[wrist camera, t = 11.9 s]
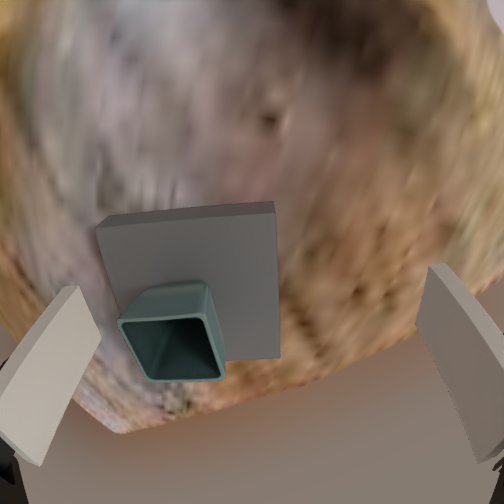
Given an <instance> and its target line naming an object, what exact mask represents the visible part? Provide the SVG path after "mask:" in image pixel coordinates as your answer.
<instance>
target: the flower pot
mask: <svg viewBox="0 0 504 504" xmlns="http://www.w3.org/2000/svg"><path fill="white" fill-rule="evenodd" d="M116 323H117V326H118V328H119V330H120V332H121V334H122V336H123V338H124V340H125V341H126V343H127V345H128V347H129V349H130V351H131V353H132V355H133V356H134V358H135V360H136V362H137V364H138V366H139V368H140V369H141V371H142V373H143V375H144V377H145V378H146V379H147V381H149V382H155V383H162V382H203V381H220V380H224V379H225V378H226V370H225V347H224V339H223V335H222V331H221V328H220V325H219V321H218V318H217V314H216V311H215V307H214V303H213V300H212V296H211V292H210V288H209V286H208V284H207V283H206V282H205V281H203V280H195V281H186V282H178V283H169V284H163V285H158V286H155V287H152V288H149V289H147V290H145V291H144V292H142V293H141V294H139V295H138V296H137V297H136V298H135V299H134V300H133V301H132V303H131V304H130V305H129V306H128V307H127V309H126V310H125V311H124V312H123V313H122V315H121V316H120V317H119V318H118V320H117V321H116Z"/></svg>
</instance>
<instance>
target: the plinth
mask: <svg viewBox="0 0 504 504" xmlns="http://www.w3.org/2000/svg"><path fill="white" fill-rule="evenodd" d="M94 229H95V233H96V237H97V241H98V244H99V248H100V252H101V255H102V259H103V262H104V265H105V269H106V272H107V275H108V278H109V282H110V285H111V288H112V291H113V294H114V297H115V300H116V303H117V306H118V308H119V311H120V314H121V315H122V313H123V312H124V311H125V310H126V309H127V307H128V306H129V305H130V304H131V303H132V301H133V300H134V299H135V298H136V297H137V296H138V295H139V294H141V293H142V292H144V291H145V290H147V289H149V288H152V287H155V286H158V285H163V284H169V283H178V282H186V281H195V280H203V281H205V282H206V283H207V284H208V286H209V288H210V292H211V296H212V300H213V303H214V307H215V311H216V314H217V318H218V321H219V325H220V328H221V331H222V335H223V339H224V347H225V361H232V360H257V359H275V358H280V315H279V283H278V255H277V231H276V212H275V207H274V202H273V201H271V202H255V203H241V204H227V205H214V206H202V207H191V208H180V209H169V210H159V211H150V212H141V213H132V214H123V215H114V216H108V217H107V218H106V219H105V220H103V221H102V222H101V223H100V224H99V225H98V226H97V227H96V228H94Z"/></svg>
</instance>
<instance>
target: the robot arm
mask: <svg viewBox="0 0 504 504" xmlns="http://www.w3.org/2000/svg"><path fill="white" fill-rule="evenodd" d="M415 325H416V327H417V329H418V331H419V333H420V334H421V336H422V338H423V340H424V342H425V344H426V346H427V348H428V350H429V352H430V354H431V356H432V358H433V360H434V362H435V364H436V366H437V368H438V370H439V372H440V374H441V376H442V378H443V380H444V383H445V385H446V387H447V389H448V392H449V394H450V396H451V398H452V400H453V403H454V405H455V407H456V410H457V412H458V414H459V417H460V419H461V422H462V424H463V426H464V429H465V431H466V434H467V437H468V439H469V442H470V445H471V447H472V450H473V452H474V455H475V458H476V461H477V464H480V463H482V462H484V461H486V460H489V459H491V458H493V457H495V456H497V455H498V454H499V453H500V452H501V451H502V450H503V449H504V333H503V334H502V332H501V331H500V330H499V328H498V327H497V326H496V325H495V323H494V322H493V320H492V319H491V318H490V316H489V315H488V314H487V312H486V311H485V310H484V308H482V306H481V305H480V303H479V302H478V301H477V300H476V298H475V297H474V296H473V295H472V293H471V292H470V291H469V290H468V289H467V287H466V286H465V285H464V284H463V283H462V281H461V280H460V279H459V278H458V277H457V275H456V274H455V273H454V272H453V271H452V270H451V269H450V267H449V266H448V265H447V264H446V263H444V264H434V265H429V268H428V273H427V278H426V282H425V286H424V291H423V295H422V299H421V303H420V307H419V311H418V314H417V318H416V322H415ZM101 339H102V337H101V335H100V333H99V331H98V329H97V326H96V324H95V322H94V320H93V318H92V315H91V313H90V311H89V309H88V306H87V304H86V302H85V299H84V297H83V294H82V292H81V289H80V287H79V286H64V287H63V289H62V290H61V291H60V292H59V293H58V295H57V296H56V297H55V298H54V299H53V301H52V302H51V303H50V304H49V306H48V307H47V308H46V309H45V311H44V312H43V313H42V314H41V316H40V317H39V318H38V319H37V321H36V322H35V323H34V325H33V326H32V327H31V329H30V330H29V331H28V333H27V334H26V335H25V337H24V338H23V339H22V341H21V342H20V343H19V345H18V346H17V348H16V349H15V350H14V352H13V353H12V355H11V356H10V357H9V358H8V359H7V360H5V361H4V362H3V364H2V365H1V367H0V504H29V502H28V499H27V496H26V492H25V489H24V485H23V481H22V477H21V472H20V468H19V464H18V461H17V459H16V458H15V457H14V456H13V455H14V453H15V451H16V452H17V453H18V454H19V455H20V456H21V457H23V458H24V459H25V460H26V461H29V462H31V463H33V464H35V465H38V466H40V467H41V465H42V462H43V460H44V457H45V455H46V452H47V450H48V447H49V445H50V443H51V441H52V438H53V436H54V434H55V431H56V429H57V427H58V425H59V423H60V420H61V418H62V416H63V414H64V412H65V410H66V408H67V405H68V404H69V401H70V399H71V397H72V395H73V393H74V391H75V389H76V387H77V385H78V383H79V381H80V379H81V377H82V375H83V373H84V371H85V369H86V367H87V366H88V364H89V362H90V360H91V358H92V356H93V354H94V352H95V350H96V349H97V347H98V345H99V343H100V341H101ZM502 464H503V465H502ZM501 465H502V468H501V469H500V470H499V472H500V475H499V478H498V481H497V484H496V487H495V490H494V492H493V495H492V498H491V501H490V503H489V504H504V457H503V458H502V459H501V460H500V461H498V462H497V463H496V464H495V466H494V468H493V469H492V470H493V471H495V470H496V469H497V468H499V467H500V466H501Z"/></svg>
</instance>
